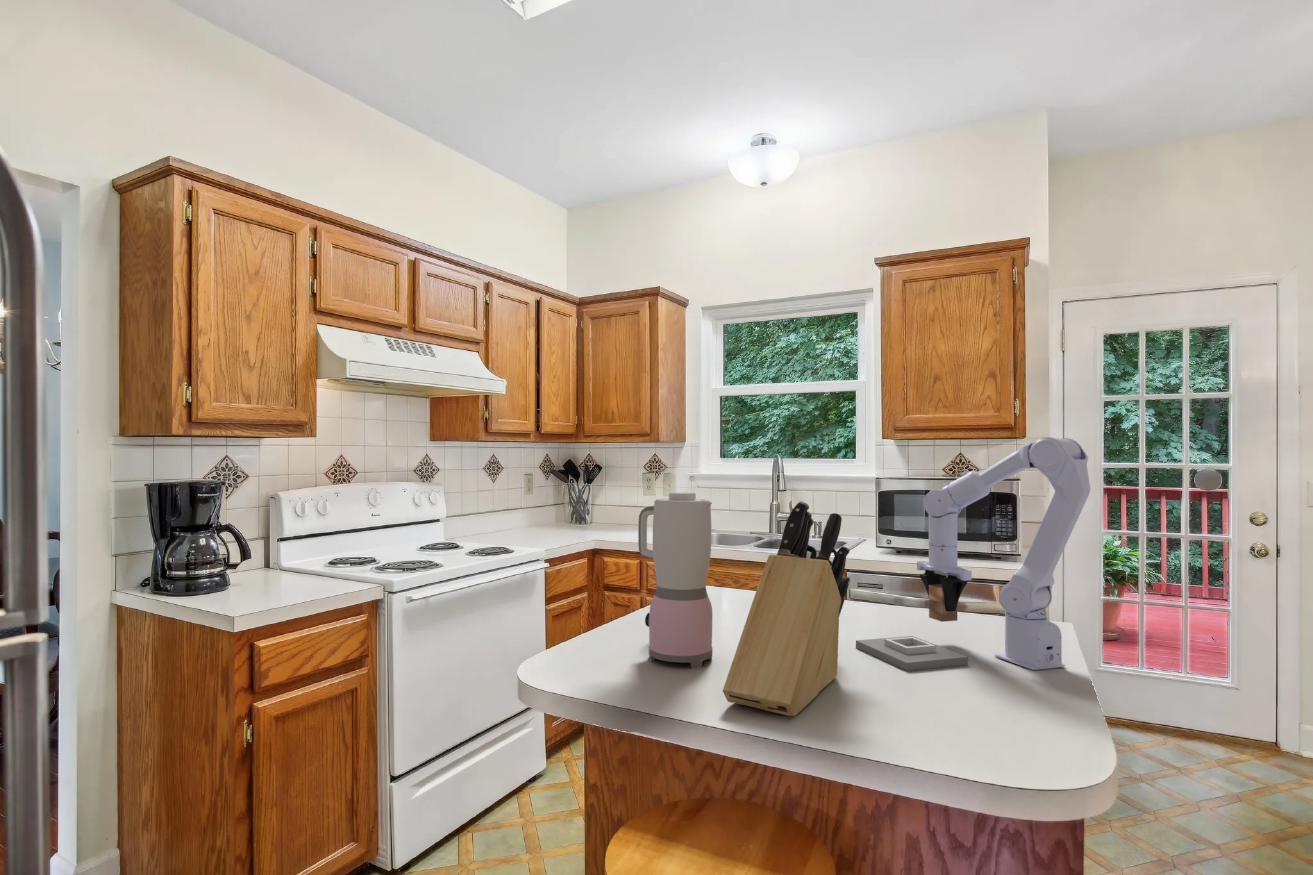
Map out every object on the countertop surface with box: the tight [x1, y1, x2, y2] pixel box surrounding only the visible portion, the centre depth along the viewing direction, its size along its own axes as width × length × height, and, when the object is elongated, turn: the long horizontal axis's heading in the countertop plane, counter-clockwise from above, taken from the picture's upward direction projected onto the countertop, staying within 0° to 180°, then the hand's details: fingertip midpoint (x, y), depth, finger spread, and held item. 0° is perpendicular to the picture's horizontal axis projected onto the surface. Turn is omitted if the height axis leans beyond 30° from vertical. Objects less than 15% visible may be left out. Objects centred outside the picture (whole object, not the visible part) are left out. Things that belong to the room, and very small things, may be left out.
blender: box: [637, 491, 713, 669], centre depth 134 cm, size 16×12×32 cm
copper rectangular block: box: [928, 584, 958, 622], centre depth 148 cm, size 4×4×7 cm
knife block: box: [722, 500, 851, 717], centre depth 119 cm, size 11×35×31 cm, turn 149°
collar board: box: [855, 635, 969, 672], centre depth 137 cm, size 16×14×3 cm
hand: (943, 608), depth 148 cm, fingers closed on copper rectangular block, 4 cm apart
